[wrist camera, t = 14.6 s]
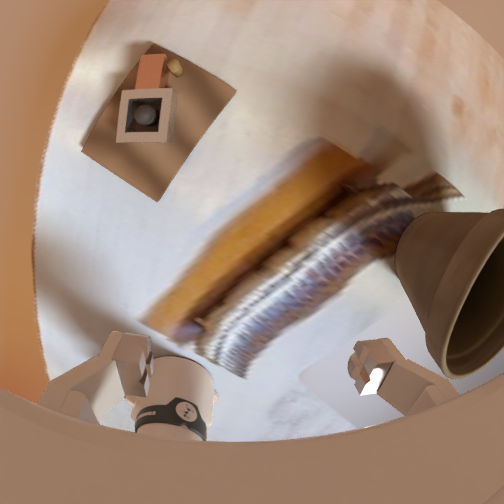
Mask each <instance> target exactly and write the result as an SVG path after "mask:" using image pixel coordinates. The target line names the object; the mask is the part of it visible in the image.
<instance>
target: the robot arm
mask: <svg viewBox="0 0 504 504" xmlns="http://www.w3.org/2000/svg"><path fill="white" fill-rule="evenodd" d="M151 346H152V342H151V337H150V336H146V335H139V334H133V333H127V332H120V331H114V330H113V331H112V332H111V333H110V335H109V337H108V338H107V340H106V342H105V344H104V346H103V348H102V350H101V352H100V354H99V356H98V357H95V356H94V357H93V358H91V359H89V360H87V361H86V362H84V363H82V364H80V365H78V366H77V367H75V368H73V369H71V370H69V371H68V372H66V373H64V374H62V375H60V376H59V377H57V378H55V379H53V380H51V381H50V382H49V383H48V385H47V387H46V389H45V390H44V392H43V394H42V396H41V398H40V400H39V402H38V404H36V403H33V402H31V401H29V400H26V399H24V398H22V397H20V396H18V395H15V394H13V393H11V392H9V391H7V390H5V389H3V388H1V387H0V504H504V373H503V374H501V375H499V376H497V377H495V378H494V379H492V380H490V381H488V382H487V383H485V384H483V385H481V386H479V387H477V388H475V389H473V390H471V391H468V392H466V393H464V394H462V395H460V394H459V393H458V392H457V391H456V389H455V388H454V387H453V386H452V384H451V383H450V382H449V380H448V379H446V378H444V377H442V376H440V375H438V374H436V373H434V372H432V371H430V370H428V369H426V368H424V367H422V366H420V365H418V364H416V363H414V362H412V361H411V360H409V359H408V360H406V359H405V358H404V357H403V355H402V354H401V353H400V352H399V350H398V349H397V348H396V346H395V345H394V344H393V343H392V341H391V340H390V339H388V338H381V339H374V340H364V341H357V342H356V344H355V346H354V348H353V349H354V351H355V353H354V354H352V355H351V356H350V358H349V361H348V372H349V375H350V377H351V378H353V379H354V380H356V381H355V384H354V385H355V387H356V389H357V390H358V392H359V394H360V395H366V394H372V393H377V394H378V395H379V396H380V397H381V398H383V399H384V400H385V401H386V402H388V403H389V404H391V405H392V406H393V407H394V408H396V409H397V410H398V411H400V412H401V413H402V414H403V415H405V417H401V418H398V419H395V420H391V421H388V422H384V423H380V424H377V425H373V426H368V427H364V428H360V429H355V430H350V431H345V432H340V433H334V434H328V435H322V436H315V437H307V438H299V439H289V440H277V441H258V442H217V441H206V439H207V431H206V429H207V428H208V427H209V426H211V424H212V416H213V406H214V404H215V403H217V402H218V401H219V395H218V394H217V392H216V391H215V390H214V382H213V379H212V377H211V375H210V374H209V372H208V371H207V370H206V369H205V368H203V367H202V366H201V365H199V364H197V363H195V362H193V361H191V360H188V359H185V358H180V357H172V356H166V357H159V358H155V359H154V357H153V353H152V352H151V351H150V349H151ZM125 395H126V396H125ZM124 396H125V401H126V402H127V403H128V404H129V405H130V406H131V407H132V412H131V418H132V419H133V420H134V421H135V432H130V431H125V430H120V429H115V428H111V427H107V426H103V425H100V424H99V422H98V420H99V419H100V418H101V417H102V416H103V415H104V414H106V413H107V412H108V411H109V410H110V409H111V408H112V407H113V406H114V405H116V404H117V403H118V402H119V401H120V400H121V399H122V398H123V397H124Z"/></svg>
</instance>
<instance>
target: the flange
mask: <svg viewBox="0 0 504 504" xmlns="http://www.w3.org/2000/svg"><path fill="white" fill-rule="evenodd" d="M168 61H169V59H168V58H167V56H166V55H165V54H148V55H141V59H140V64H139V69H138V74H137V80H136V86H135V89H133V90H122V94H121V101H120V108H119V116H118V126H117V136H116V143H173V137H174V127H175V119H176V110H177V103H178V94H177V92H176V91H175V90H174V89H173V88H167V84H168V78H169V72H170V69H169V68H168V66H167V63H168ZM155 103H162V104H161V112H160V120H159V129H158V132H136V123H137V121H136V120H135V117H134V114H135V111H136V109H137V108H138V107H139V104H155Z"/></svg>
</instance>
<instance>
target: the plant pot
mask: <svg viewBox="0 0 504 504" xmlns="http://www.w3.org/2000/svg"><path fill="white" fill-rule="evenodd" d="M395 267H396V272H397V275H398V277H399V280H400V282H401V284H402V286H403V288H404V290H405V292H406V294H407V296H408V298H409V300H410V302H411V303H412V306H413V308H414V310H415V312H416V314H417V316H418V318H419V320H420V322H421V325H422V327H423V329H424V331H425V333H426V336H425V337H426V345H427V349H428V351H429V353H430V354H431V356H432V357H433V359H434V360H435V362H436V363H437V365H438V366H439V367H440V369H441V370H442V372H443V374H444V375H445V376H446V377H448V378H450V379H461V378H465V377H467V376H469V375H472V374H473V373H475V372H477V371H479V370H480V369H482V368H483V367H484V366H485V365H487V364H488V363H489V362H490V361H491V360H492V359H494V358H495V357H496V355H498V354H499V353H500V351H501V350H502V349H503V348H504V209H497V210H494V211H492V212H490V213H481V212H437V213H426V214H423V215H421V216H419V217H417V218H416V219H414V220H413V221H412V222H411V223H410V224H409V225H408V226H407V227H406V229H405V230H404V232H403V234H402V236H401V238H400V240H399V243H398V245H397V250H396V255H395Z"/></svg>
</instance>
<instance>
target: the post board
mask: <svg viewBox="0 0 504 504" xmlns="http://www.w3.org/2000/svg"><path fill="white" fill-rule="evenodd" d="M148 54H165V55H166V56H167V58H168V59H169V61H168V63H167V66H168V68H169V69H170V72H169V78H168V84H167V88H173V89H174V90H175V91H176V92H177V94H178V103H177V110H176V119H175V127H174V137H173V143H116V136H117V126H118V116H119V108H120V101H121V94H122V90H133V89H135V86H136V80H137V74H138V69H139V64H140V60H139V62H138V63H137V64H136V66H135V67H134V68H133V69H132V71H131V72H130V73H129V75H128V76H127V78H126V79H125V80H124V82H123V83H122V85H121V86H120V87H119V89H118V90H117V92H116V93H115V95H114V96H113V98H112V99H111V101H110V102H109V104H108V105H107V107H106V109H105V110H104V112H103V114H102V115H101V117H100V118H99V120H98V122H97V124H96V125H95V127H94V129H93V131H92V132H91V134H90V136H89V138H88V140H87V141H86V143H85V145H84V147H83V149H82V151H81V152H83V153H84V154H86V155H87V156H89V157H90V158H92V159H93V160H94V161H96V162H97V163H99V164H100V165H102V166H103V167H105V168H106V169H108V170H109V171H111V172H112V173H114V174H115V175H117V176H118V177H120V178H121V179H123V180H124V181H126V182H127V183H129V184H130V185H132V186H133V187H135V188H136V189H138V190H139V191H141V192H142V193H144V194H145V195H147V196H148V197H150V198H152V199H153V200H155V201H156V202H158V201H159V200H160V199H161V197H162V196H163V194H164V192H165V191H166V189H167V188H168V186H169V184H170V183H171V181H172V180H173V178H174V177H175V175H176V174H177V172H178V171H179V169H180V168H181V166H182V165H183V163H184V162H185V160H186V159H187V157H188V156H189V154H190V153H191V152H192V150H193V149H194V147H195V146H196V145H197V143H198V142H199V140H200V139H201V138H202V136H203V135H204V133H205V132H206V131H207V129H208V128H209V127H210V125H211V124H212V123H213V121H214V120H215V119H216V118H217V116H218V115H219V114H220V112H221V111H222V110H223V109H224V107H225V106H226V105H227V104H228V102H229V101H230V100H231V99H232V97H233V96H234V95H235V94H236V91H237V90H235V89H234V88H232V87H231V86H229V85H228V84H226V83H224V82H223V81H221V80H220V79H218V78H216V77H215V76H213V75H211V74H210V73H208V72H206V71H205V70H203V69H201V68H199V67H198V66H196V65H194V64H192V63H191V62H189V61H187V60H185V59H183V58H181V57H180V56H178V55H176V54H174V53H172V52H170V51H168V50H166V49H164V48H162V47H160V46H158V45H156V44H153V45H152V46H151V47H150V48H149V49H148V51H147V52H146V53H145V54H144V55H148ZM161 104H162V103H155V104H139V107H138V108H137V109H136V111H135V114H134V117H135V120H136V121H137V123H136V132H158V129H159V120H160V112H161Z"/></svg>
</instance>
